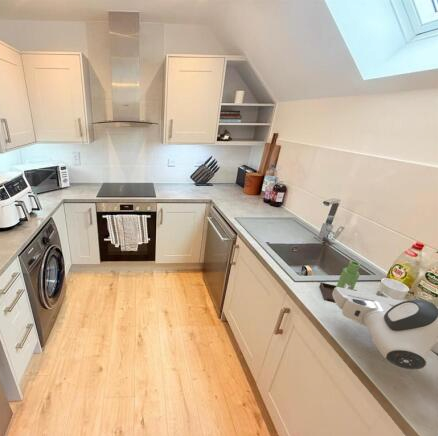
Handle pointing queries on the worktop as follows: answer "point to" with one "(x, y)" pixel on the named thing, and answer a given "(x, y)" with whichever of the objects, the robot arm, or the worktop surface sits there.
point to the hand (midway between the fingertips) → (362, 289)
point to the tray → (328, 291)
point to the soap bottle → (349, 275)
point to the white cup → (393, 288)
